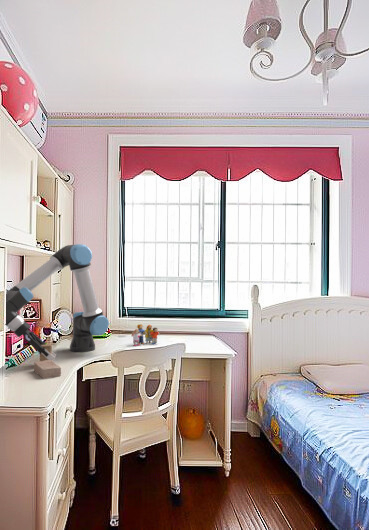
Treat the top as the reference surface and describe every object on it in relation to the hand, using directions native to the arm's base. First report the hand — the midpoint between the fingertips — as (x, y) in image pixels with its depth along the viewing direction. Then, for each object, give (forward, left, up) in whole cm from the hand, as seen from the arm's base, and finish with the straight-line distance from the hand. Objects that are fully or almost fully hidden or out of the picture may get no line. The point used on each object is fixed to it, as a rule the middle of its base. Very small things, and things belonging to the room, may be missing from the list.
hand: (53, 358), depth 189 cm
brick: (+16, -1, -4) cm, 16 cm away
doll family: (-50, +52, -4) cm, 72 cm away
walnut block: (0, -4, -3) cm, 5 cm away
